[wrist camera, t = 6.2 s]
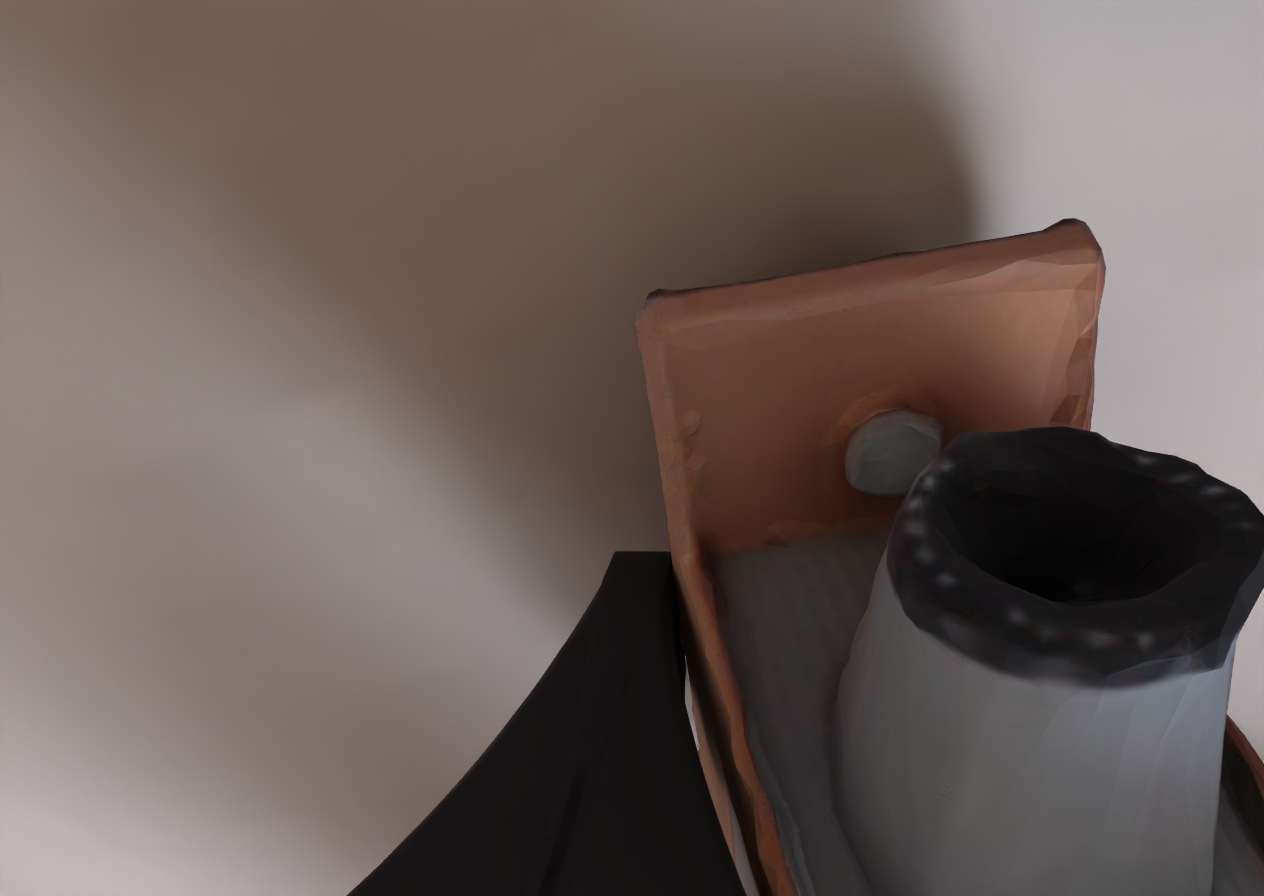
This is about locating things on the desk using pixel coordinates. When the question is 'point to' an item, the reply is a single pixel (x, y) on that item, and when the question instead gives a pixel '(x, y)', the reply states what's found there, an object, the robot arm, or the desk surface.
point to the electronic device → (948, 587)
